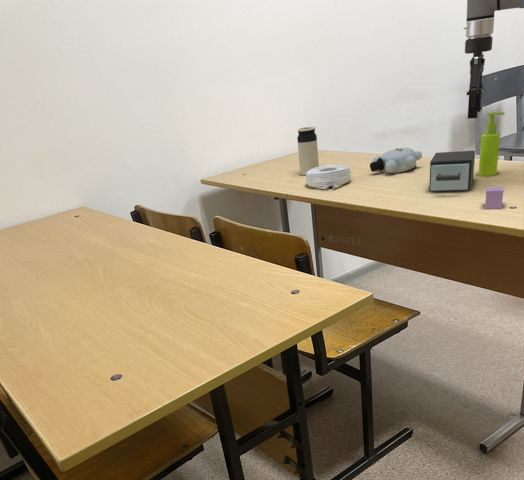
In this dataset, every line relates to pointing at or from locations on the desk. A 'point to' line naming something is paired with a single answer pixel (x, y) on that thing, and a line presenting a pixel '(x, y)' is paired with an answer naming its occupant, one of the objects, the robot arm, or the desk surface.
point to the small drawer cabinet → (455, 158)
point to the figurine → (396, 160)
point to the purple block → (494, 197)
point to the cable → (328, 176)
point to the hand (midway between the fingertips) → (474, 115)
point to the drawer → (450, 176)
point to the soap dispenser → (489, 147)
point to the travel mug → (307, 149)
